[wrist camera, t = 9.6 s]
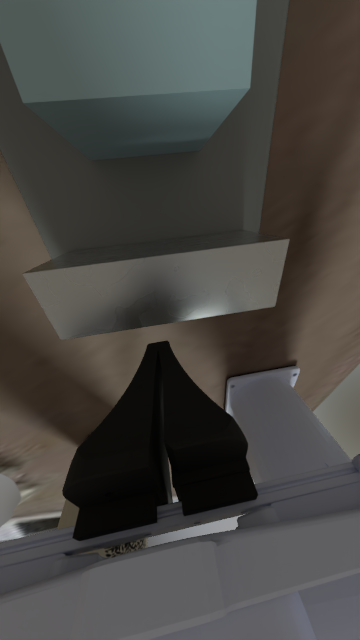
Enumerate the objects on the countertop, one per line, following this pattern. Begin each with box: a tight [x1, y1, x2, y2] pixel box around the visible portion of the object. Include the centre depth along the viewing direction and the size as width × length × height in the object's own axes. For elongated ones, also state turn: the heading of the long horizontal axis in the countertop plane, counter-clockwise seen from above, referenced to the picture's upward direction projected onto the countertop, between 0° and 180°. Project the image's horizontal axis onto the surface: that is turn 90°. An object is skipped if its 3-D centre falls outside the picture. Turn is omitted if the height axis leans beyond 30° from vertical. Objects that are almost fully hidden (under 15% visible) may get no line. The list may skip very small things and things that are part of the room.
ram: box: [23, 230, 290, 340], centre depth 9 cm, size 3×10×4 cm, turn 95°
